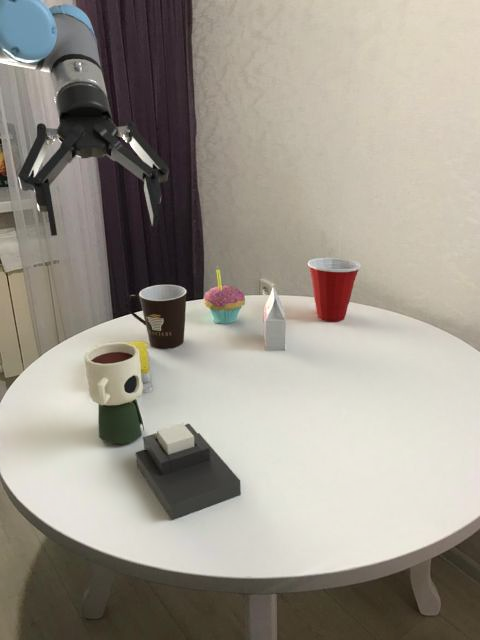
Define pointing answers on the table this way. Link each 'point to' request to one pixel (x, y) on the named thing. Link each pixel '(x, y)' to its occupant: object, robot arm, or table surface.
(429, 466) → the table surface
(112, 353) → the character mug
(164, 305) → the coffee mug
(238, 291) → the cupcake
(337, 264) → the plastic cup
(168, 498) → the button base
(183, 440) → the small white rectangular block
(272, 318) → the small milk carton
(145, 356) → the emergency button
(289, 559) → the table surface
